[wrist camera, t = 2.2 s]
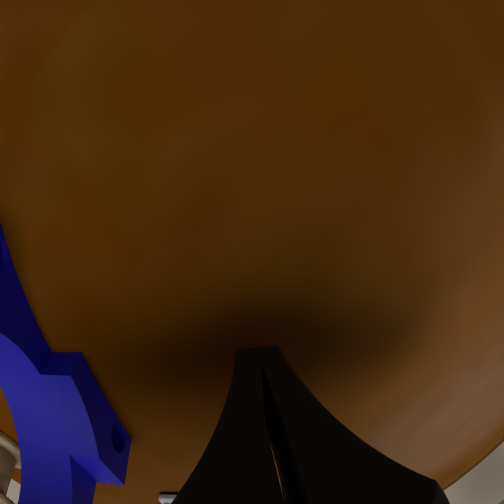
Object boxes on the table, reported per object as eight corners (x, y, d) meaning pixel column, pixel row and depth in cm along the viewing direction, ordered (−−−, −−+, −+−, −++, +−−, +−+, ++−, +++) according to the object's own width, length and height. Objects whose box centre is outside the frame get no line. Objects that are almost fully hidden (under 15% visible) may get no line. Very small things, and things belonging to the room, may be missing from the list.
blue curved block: (131, 436, 13) (118, 539, 7) (61, 430, 13) (36, 518, 7) (29, 199, 8) (-105, 289, 3) (-46, 223, 8) (-146, 297, 2)
